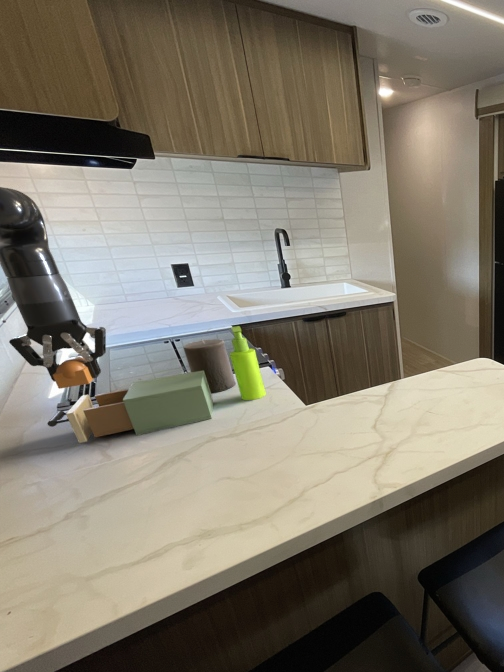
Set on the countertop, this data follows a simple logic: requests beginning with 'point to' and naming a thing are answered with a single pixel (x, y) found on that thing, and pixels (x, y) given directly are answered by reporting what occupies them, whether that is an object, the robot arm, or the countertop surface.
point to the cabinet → (168, 402)
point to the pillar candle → (211, 363)
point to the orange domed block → (72, 373)
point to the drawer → (96, 416)
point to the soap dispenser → (246, 368)
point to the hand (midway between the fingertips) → (78, 379)
